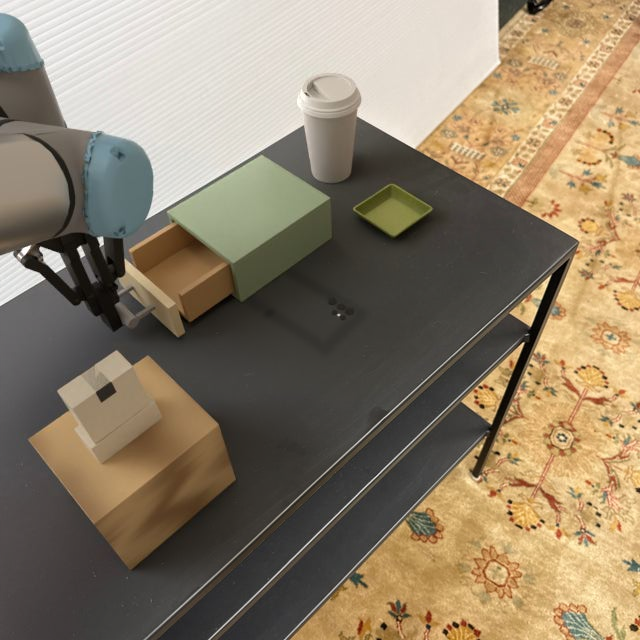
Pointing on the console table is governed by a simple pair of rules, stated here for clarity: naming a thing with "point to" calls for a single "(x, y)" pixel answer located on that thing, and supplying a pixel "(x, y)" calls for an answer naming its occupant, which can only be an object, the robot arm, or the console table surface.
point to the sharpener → (109, 406)
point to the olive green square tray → (392, 210)
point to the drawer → (174, 278)
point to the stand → (143, 469)
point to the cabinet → (257, 222)
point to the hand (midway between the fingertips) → (112, 323)
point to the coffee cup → (330, 124)
